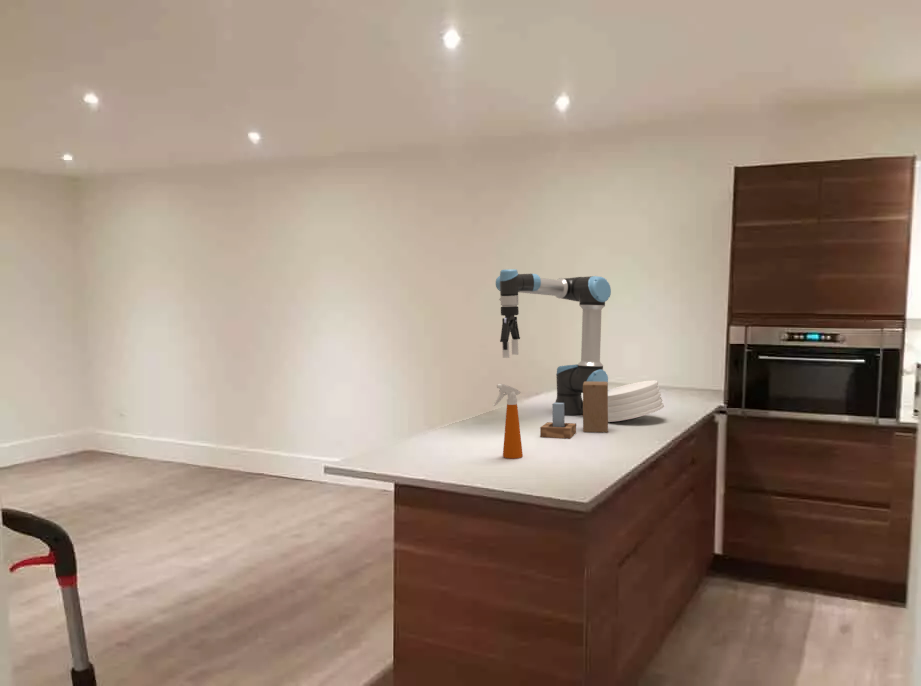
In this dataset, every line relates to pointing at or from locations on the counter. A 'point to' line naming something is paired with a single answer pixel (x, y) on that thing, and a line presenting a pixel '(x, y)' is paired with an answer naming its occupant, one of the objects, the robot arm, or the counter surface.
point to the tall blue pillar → (558, 415)
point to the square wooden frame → (558, 430)
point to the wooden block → (595, 406)
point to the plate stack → (634, 400)
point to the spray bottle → (511, 423)
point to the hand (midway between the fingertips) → (510, 356)
